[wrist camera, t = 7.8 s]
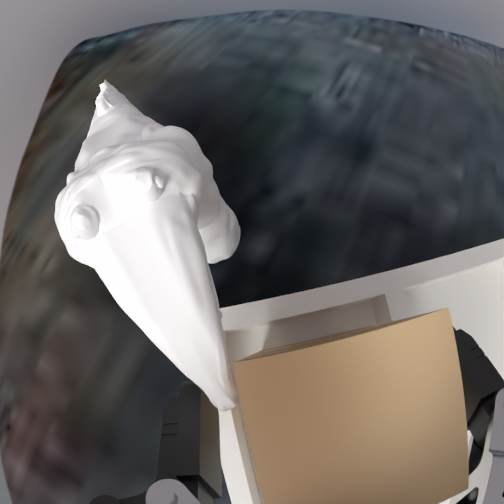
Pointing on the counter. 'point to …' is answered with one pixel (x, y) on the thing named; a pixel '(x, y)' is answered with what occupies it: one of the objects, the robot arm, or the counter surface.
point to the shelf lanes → (359, 316)
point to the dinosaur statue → (154, 235)
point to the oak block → (359, 415)
